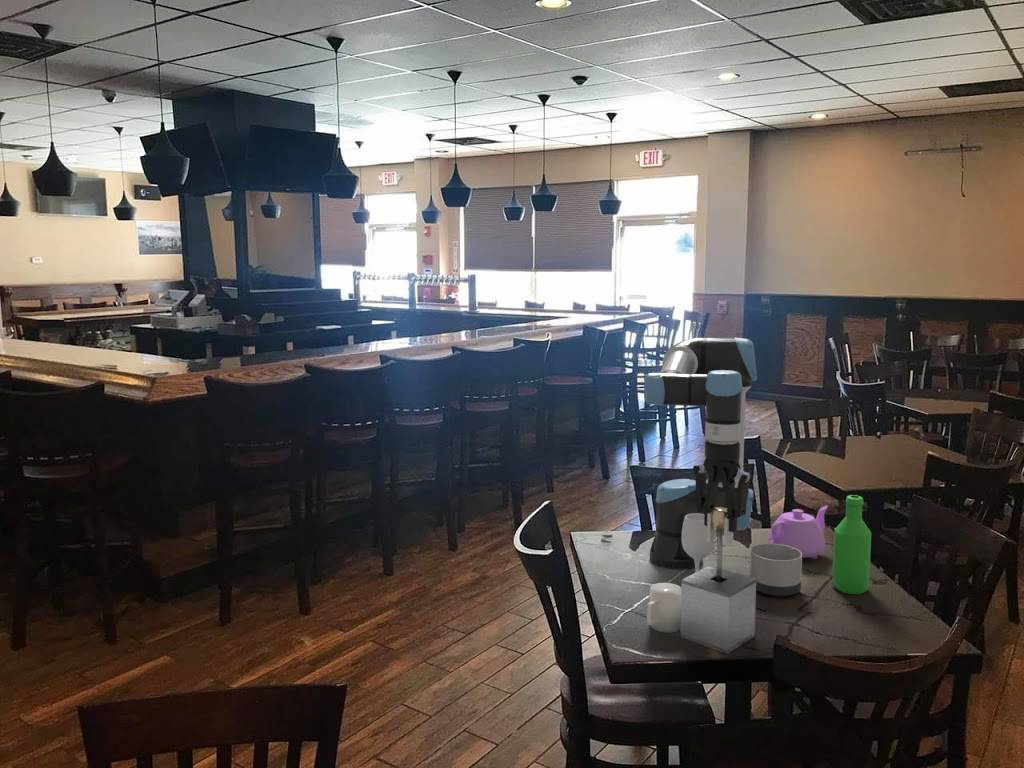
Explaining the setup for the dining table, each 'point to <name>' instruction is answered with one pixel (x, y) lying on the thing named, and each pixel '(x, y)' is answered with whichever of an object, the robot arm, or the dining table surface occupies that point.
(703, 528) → the wineglass
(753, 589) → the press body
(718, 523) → the plunger
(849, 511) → the bottle
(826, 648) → the dining table surface
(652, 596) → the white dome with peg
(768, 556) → the planter
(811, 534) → the teapot
